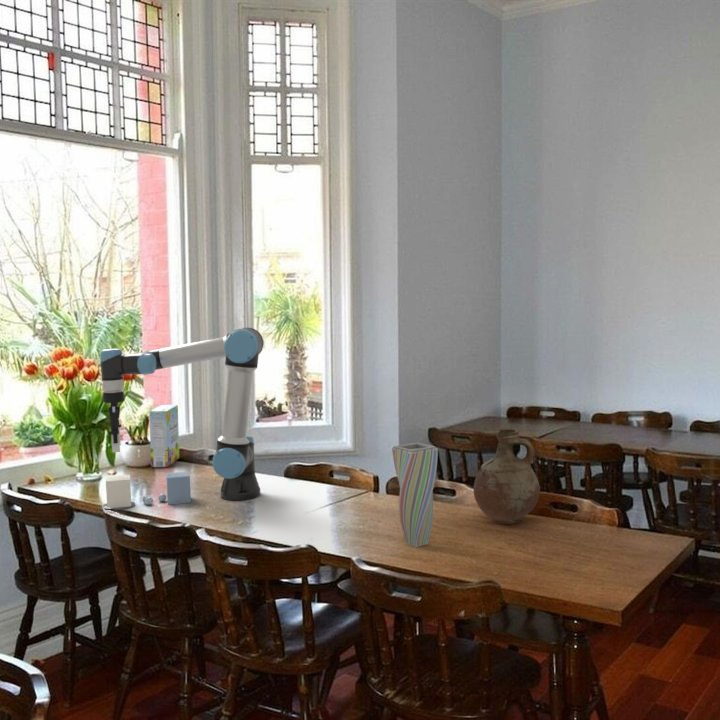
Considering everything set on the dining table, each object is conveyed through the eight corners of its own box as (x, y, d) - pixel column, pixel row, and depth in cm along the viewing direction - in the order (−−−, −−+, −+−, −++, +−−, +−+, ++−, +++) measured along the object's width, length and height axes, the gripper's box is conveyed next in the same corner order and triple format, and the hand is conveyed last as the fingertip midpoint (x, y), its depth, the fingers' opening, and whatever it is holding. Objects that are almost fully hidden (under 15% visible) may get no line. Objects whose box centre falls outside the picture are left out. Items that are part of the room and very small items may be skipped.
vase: (414, 553, 252) (411, 452, 249) (385, 542, 263) (383, 446, 260) (448, 544, 260) (446, 446, 257) (419, 534, 271) (417, 440, 268)
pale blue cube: (189, 497, 328) (188, 471, 327) (191, 502, 320) (189, 476, 319) (167, 499, 326) (165, 473, 325) (167, 504, 318) (166, 478, 317)
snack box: (169, 467, 383) (167, 410, 381) (150, 468, 383) (147, 411, 381) (181, 457, 405) (178, 403, 402) (162, 458, 405) (159, 404, 402)
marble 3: (155, 500, 323) (163, 503, 323) (157, 498, 320) (164, 501, 321) (159, 493, 324) (166, 496, 325) (161, 491, 322) (168, 494, 322)
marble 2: (154, 504, 319) (154, 496, 319) (149, 506, 316) (149, 498, 316) (148, 503, 320) (148, 495, 320) (143, 505, 318) (142, 497, 317)
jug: (475, 511, 296) (473, 425, 294) (539, 512, 292) (538, 425, 290) (472, 528, 275) (471, 436, 272) (541, 530, 271) (540, 436, 269)
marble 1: (148, 504, 322) (153, 499, 321) (144, 505, 319) (149, 500, 319) (144, 497, 323) (149, 492, 322) (139, 499, 320) (144, 494, 319)
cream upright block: (131, 500, 322) (129, 474, 321) (131, 506, 314) (129, 479, 313) (108, 503, 320) (106, 476, 319) (107, 508, 312) (105, 481, 311)
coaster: (141, 503, 320) (141, 502, 320) (120, 511, 310) (120, 509, 310) (118, 501, 325) (118, 499, 325) (97, 508, 315) (97, 507, 315)
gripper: (103, 388, 325) (106, 443, 326) (101, 395, 301) (104, 455, 302) (124, 386, 326) (127, 442, 328) (123, 394, 302) (126, 454, 304)
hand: (116, 448), depth 315 cm, fingers open, 13 cm apart
